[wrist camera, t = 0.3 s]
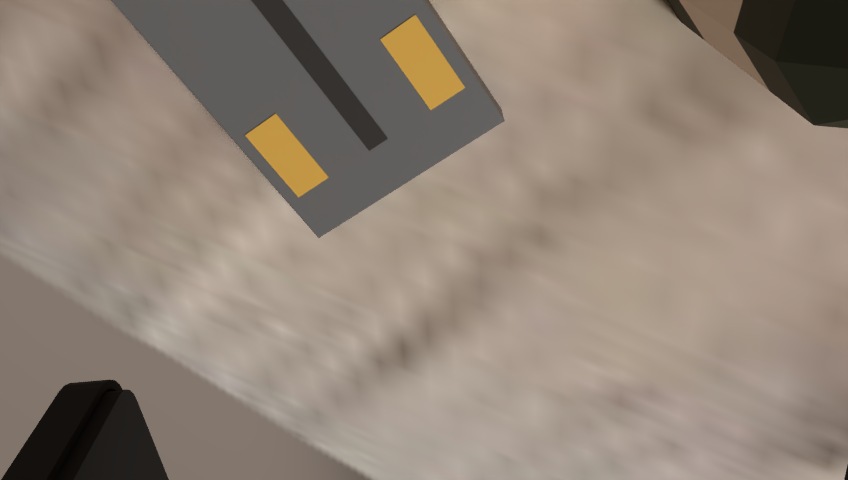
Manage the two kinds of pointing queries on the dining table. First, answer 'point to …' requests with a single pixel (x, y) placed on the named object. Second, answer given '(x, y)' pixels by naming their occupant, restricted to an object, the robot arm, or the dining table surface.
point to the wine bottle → (782, 48)
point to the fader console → (325, 91)
